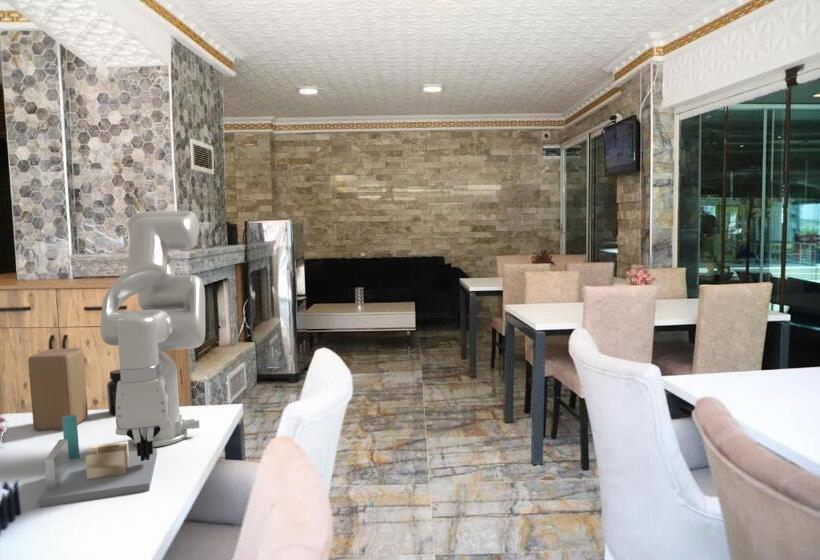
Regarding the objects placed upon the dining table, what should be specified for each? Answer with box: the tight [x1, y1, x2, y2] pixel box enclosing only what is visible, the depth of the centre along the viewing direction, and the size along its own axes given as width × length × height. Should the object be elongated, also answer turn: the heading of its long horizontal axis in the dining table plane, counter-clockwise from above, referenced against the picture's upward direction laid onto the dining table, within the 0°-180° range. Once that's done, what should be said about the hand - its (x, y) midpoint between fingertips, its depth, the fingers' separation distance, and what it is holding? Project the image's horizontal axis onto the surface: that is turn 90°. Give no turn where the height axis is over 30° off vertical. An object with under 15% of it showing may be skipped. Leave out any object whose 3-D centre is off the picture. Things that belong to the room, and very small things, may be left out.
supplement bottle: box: [106, 368, 121, 416], centre depth 168 cm, size 7×7×12 cm
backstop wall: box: [44, 438, 69, 490], centre depth 120 cm, size 2×12×6 cm, turn 19°
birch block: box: [85, 440, 130, 479], centre depth 123 cm, size 7×7×4 cm
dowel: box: [62, 415, 81, 460], centre depth 133 cm, size 3×3×10 cm
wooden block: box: [27, 347, 89, 431], centre depth 158 cm, size 10×10×20 cm
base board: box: [38, 447, 158, 508], centre depth 123 cm, size 19×20×2 cm
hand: (145, 458), depth 126 cm, fingers closed
